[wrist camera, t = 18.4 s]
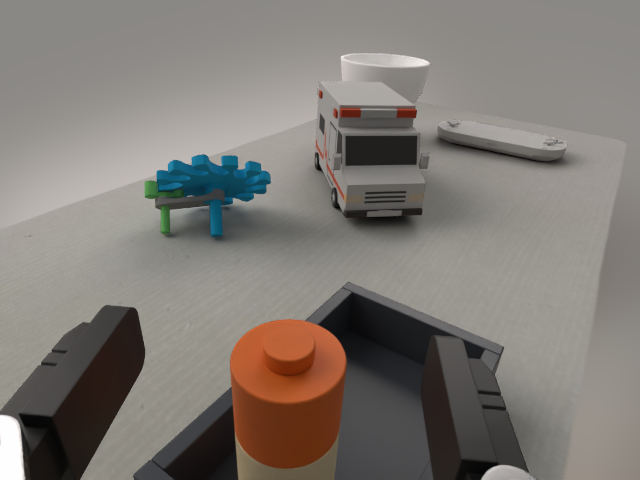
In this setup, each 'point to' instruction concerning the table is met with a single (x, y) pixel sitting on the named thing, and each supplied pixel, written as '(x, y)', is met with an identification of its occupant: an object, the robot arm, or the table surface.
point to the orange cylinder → (287, 401)
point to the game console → (502, 139)
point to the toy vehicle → (369, 149)
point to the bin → (344, 397)
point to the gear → (205, 187)
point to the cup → (387, 72)
